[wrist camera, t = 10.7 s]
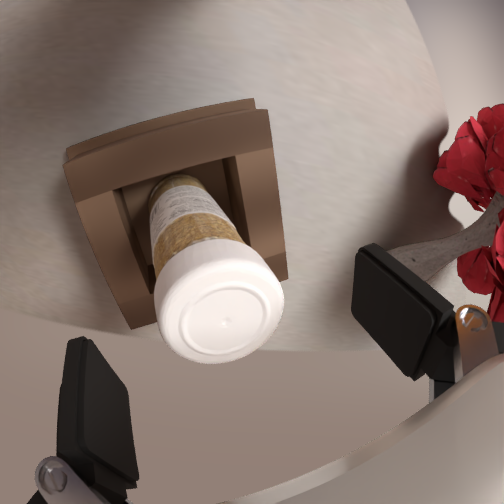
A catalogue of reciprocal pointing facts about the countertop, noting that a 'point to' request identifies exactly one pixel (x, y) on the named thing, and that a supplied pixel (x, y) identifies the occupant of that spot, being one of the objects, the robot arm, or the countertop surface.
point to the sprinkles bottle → (207, 277)
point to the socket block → (164, 165)
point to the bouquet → (477, 193)
